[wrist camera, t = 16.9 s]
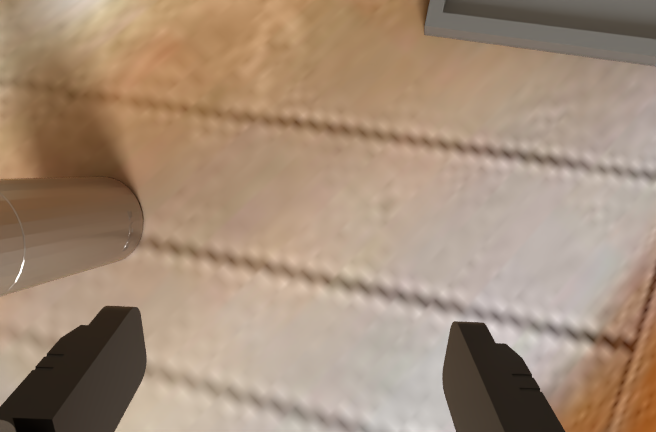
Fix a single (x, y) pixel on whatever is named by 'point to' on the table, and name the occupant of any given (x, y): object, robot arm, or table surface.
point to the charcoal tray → (553, 26)
